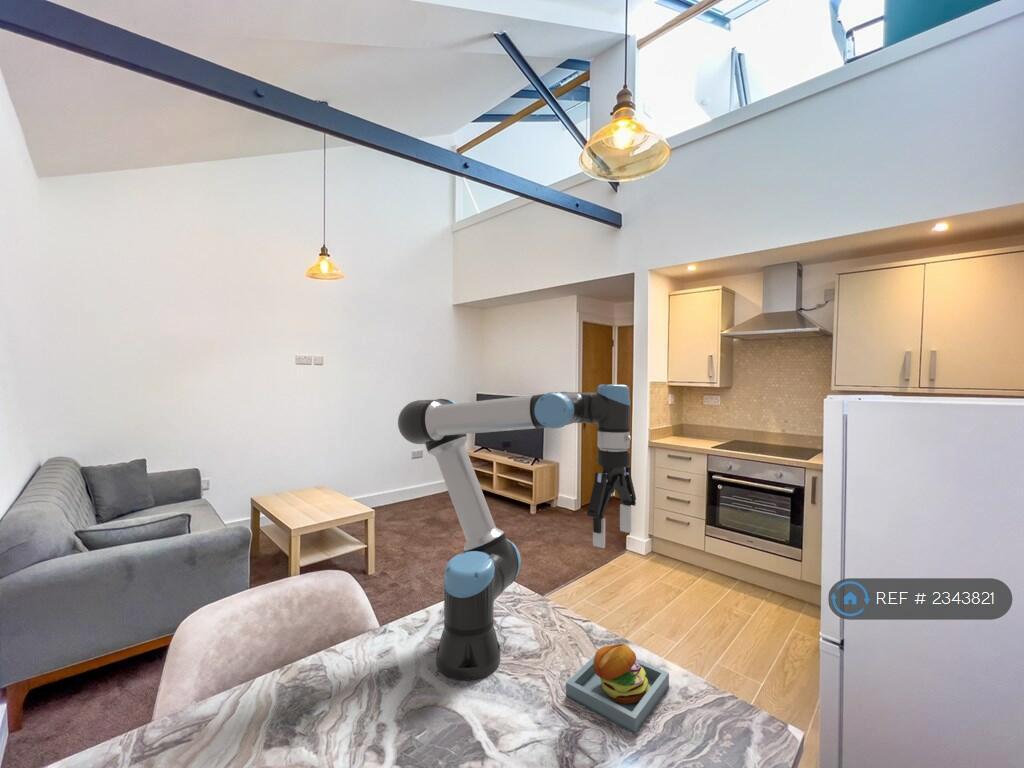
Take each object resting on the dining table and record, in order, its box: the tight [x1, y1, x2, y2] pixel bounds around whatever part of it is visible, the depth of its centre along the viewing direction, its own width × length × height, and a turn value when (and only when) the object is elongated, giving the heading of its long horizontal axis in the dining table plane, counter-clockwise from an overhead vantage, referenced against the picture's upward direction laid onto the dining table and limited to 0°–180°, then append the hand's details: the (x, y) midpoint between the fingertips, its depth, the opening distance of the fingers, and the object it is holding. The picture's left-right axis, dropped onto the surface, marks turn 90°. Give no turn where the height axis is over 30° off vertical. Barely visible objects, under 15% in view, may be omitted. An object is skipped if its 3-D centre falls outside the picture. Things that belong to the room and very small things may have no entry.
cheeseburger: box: [593, 643, 650, 704], centre depth 92 cm, size 10×11×10 cm
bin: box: [565, 655, 670, 736], centre depth 92 cm, size 15×17×3 cm
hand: (613, 538), depth 103 cm, fingers open, 13 cm apart
